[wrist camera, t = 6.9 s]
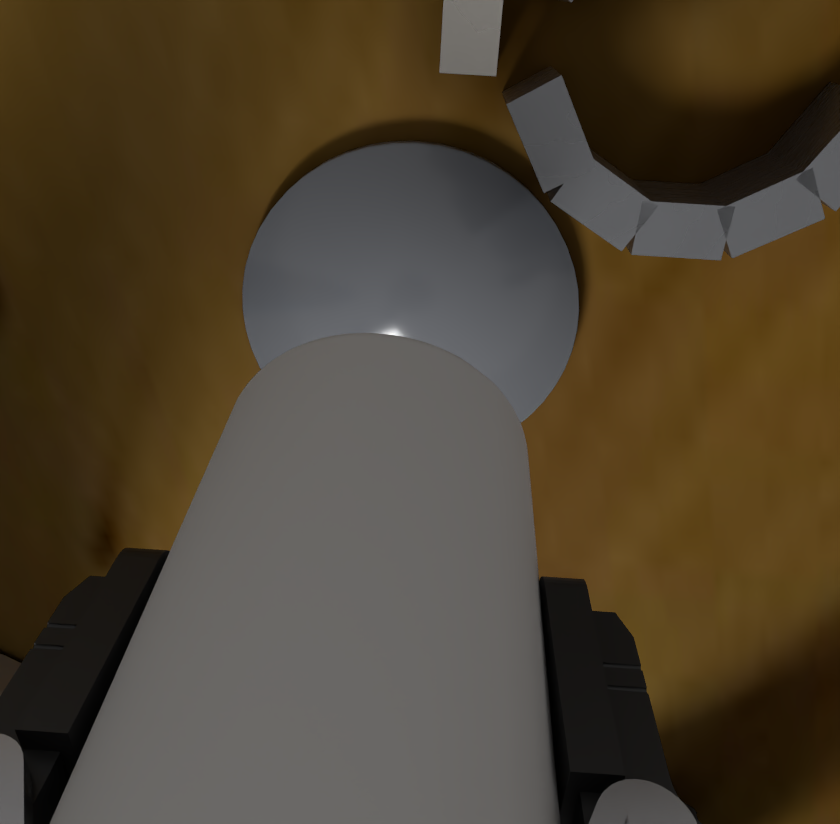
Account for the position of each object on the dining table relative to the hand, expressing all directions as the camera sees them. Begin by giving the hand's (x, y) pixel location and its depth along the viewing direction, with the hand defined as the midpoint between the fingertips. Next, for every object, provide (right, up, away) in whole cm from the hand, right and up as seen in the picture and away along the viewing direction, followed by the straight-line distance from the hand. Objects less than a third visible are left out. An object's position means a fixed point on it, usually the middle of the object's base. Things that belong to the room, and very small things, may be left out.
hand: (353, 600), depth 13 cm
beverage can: (0, +3, +4) cm, 5 cm away
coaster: (+1, +7, +12) cm, 13 cm away
